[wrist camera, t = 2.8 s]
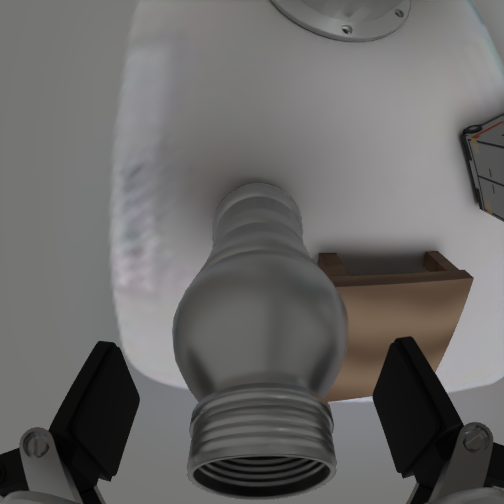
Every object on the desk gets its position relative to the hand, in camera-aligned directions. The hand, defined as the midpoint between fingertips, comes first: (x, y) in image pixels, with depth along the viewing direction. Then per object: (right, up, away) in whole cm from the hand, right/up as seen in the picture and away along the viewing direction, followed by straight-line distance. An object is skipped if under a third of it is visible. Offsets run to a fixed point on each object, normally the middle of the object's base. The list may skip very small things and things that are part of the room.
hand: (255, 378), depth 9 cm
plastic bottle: (0, +7, +15) cm, 16 cm away
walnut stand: (+12, -2, +18) cm, 22 cm away
